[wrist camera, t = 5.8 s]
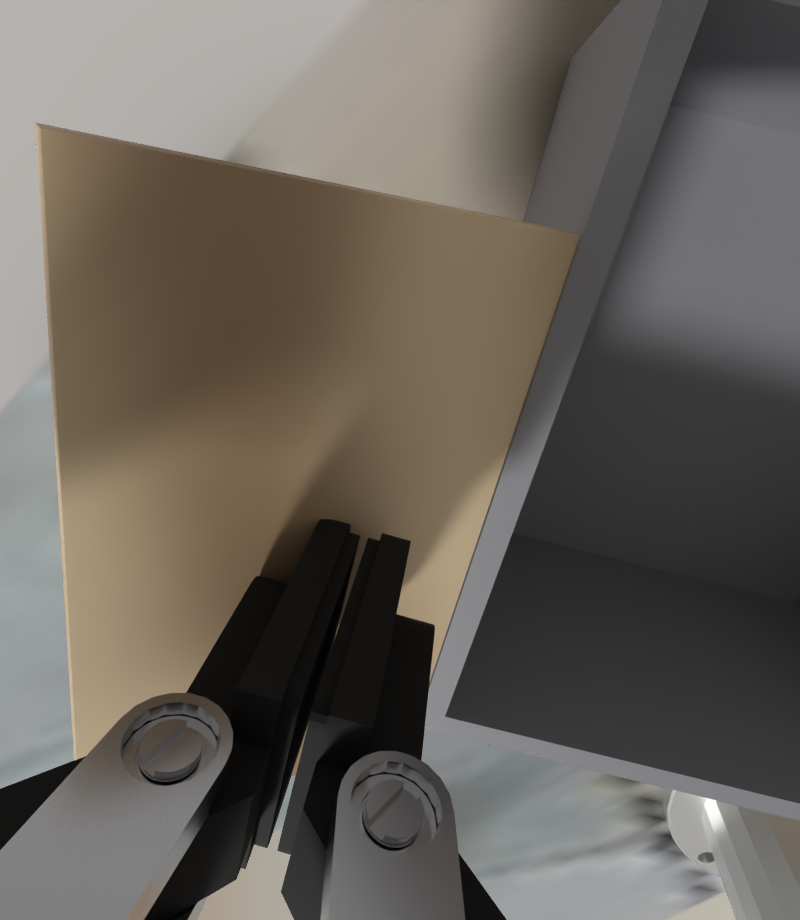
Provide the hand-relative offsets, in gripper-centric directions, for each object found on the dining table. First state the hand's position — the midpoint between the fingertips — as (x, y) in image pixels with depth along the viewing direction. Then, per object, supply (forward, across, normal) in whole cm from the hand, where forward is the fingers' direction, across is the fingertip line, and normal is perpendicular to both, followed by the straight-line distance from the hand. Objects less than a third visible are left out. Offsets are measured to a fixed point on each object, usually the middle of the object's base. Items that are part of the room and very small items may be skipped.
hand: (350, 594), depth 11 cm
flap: (0, +1, -1) cm, 1 cm away
